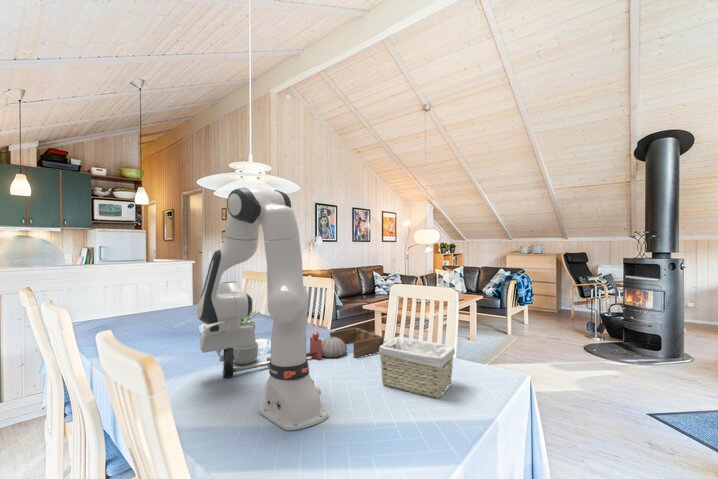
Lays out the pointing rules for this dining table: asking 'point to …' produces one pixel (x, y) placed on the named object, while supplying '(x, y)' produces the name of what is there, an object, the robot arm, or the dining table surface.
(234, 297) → the robot arm
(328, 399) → the dining table surface
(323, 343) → the sea urchin shell
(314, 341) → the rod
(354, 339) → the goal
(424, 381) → the storage basket
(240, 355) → the teacup
